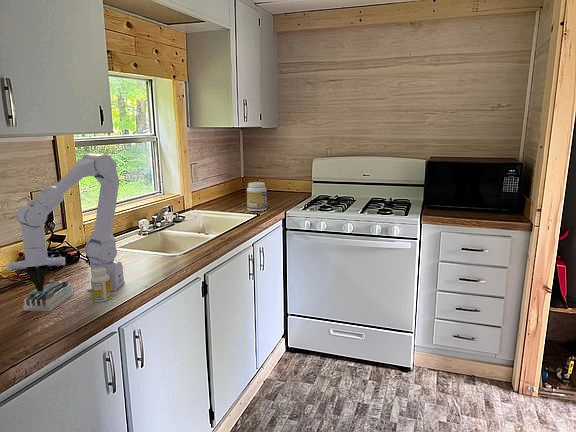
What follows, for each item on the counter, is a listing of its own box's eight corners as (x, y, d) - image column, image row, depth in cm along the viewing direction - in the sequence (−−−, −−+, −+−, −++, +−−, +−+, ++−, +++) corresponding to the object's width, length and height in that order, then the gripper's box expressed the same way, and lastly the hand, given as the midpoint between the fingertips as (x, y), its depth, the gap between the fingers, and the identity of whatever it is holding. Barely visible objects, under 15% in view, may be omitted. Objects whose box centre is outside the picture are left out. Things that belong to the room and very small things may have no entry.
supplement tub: (266, 212, 262) (266, 184, 259) (246, 212, 262) (245, 184, 258) (267, 208, 274) (266, 181, 271) (247, 208, 274) (247, 181, 270)
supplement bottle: (107, 294, 140) (104, 265, 138) (114, 299, 136) (111, 269, 134) (90, 298, 136) (87, 269, 134) (96, 303, 132) (93, 273, 130)
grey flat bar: (53, 283, 139) (53, 281, 139) (65, 284, 139) (65, 281, 139) (31, 294, 128) (31, 291, 128) (44, 294, 128) (44, 291, 128)
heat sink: (49, 293, 141) (47, 279, 139) (73, 293, 140) (72, 279, 139) (23, 310, 128) (21, 295, 127) (50, 311, 127) (48, 295, 126)
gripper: (64, 240, 133) (68, 282, 136) (8, 245, 127) (14, 289, 130) (62, 246, 127) (67, 290, 129) (3, 251, 121) (10, 297, 124)
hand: (40, 290), depth 129 cm, fingers closed, pressing on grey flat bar
